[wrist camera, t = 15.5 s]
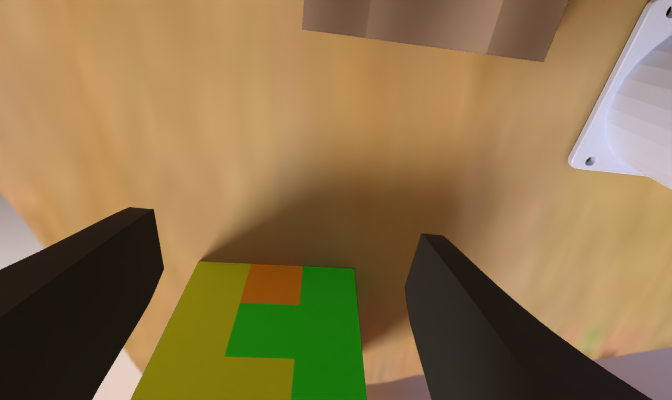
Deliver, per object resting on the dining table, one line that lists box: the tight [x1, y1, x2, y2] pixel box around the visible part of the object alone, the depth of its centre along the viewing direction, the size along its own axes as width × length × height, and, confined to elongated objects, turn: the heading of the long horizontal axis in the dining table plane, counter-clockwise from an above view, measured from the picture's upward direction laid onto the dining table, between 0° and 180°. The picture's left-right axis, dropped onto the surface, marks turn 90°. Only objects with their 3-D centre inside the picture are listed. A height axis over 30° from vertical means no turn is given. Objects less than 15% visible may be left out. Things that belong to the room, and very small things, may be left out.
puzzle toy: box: [131, 261, 367, 400], centre depth 20 cm, size 10×10×10 cm
